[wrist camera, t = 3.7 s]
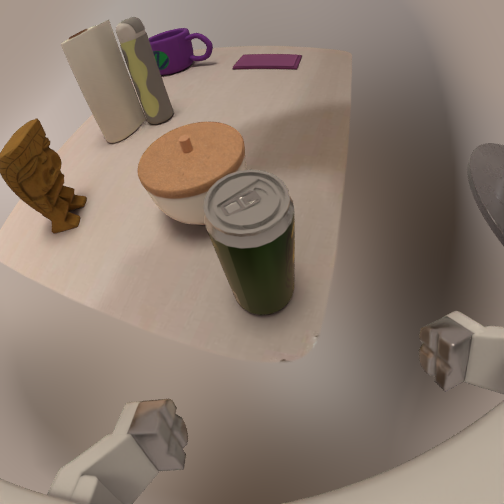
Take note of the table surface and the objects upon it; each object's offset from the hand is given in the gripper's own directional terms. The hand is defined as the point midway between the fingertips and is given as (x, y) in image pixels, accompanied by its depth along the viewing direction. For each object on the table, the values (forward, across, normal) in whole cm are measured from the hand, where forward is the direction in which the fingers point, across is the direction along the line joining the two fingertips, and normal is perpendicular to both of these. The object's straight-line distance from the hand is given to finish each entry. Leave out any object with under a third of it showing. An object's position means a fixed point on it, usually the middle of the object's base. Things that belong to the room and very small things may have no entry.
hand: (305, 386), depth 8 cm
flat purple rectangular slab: (+55, -14, -34) cm, 66 cm away
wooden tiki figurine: (+31, +24, -10) cm, 41 cm away
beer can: (+18, 0, +3) cm, 19 cm away
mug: (+62, +4, -40) cm, 74 cm away
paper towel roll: (+43, +17, -22) cm, 51 cm away
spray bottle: (+44, +10, -22) cm, 50 cm away
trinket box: (+27, +4, -5) cm, 28 cm away
